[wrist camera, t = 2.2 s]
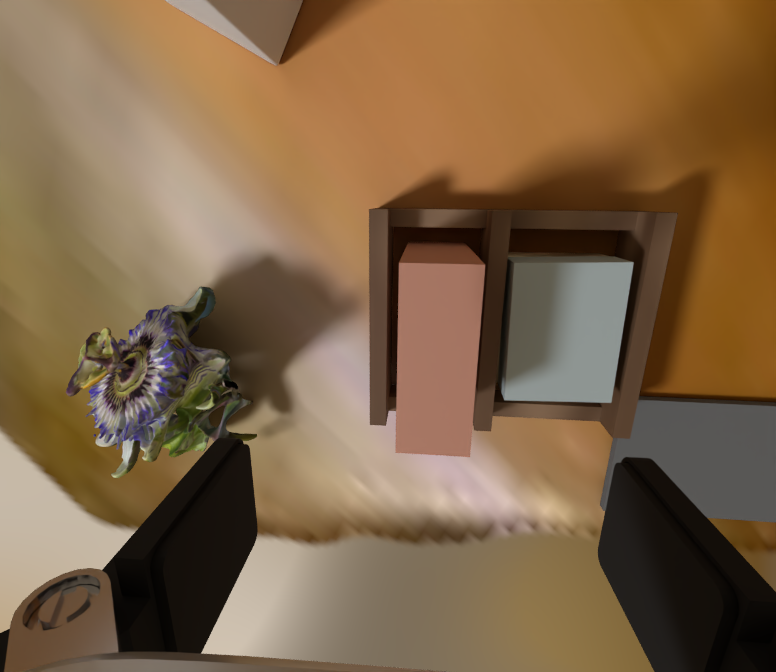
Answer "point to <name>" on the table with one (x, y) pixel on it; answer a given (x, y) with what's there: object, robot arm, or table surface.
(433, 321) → the pink rectangular block
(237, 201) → the table surface
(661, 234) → the rack
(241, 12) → the milk carton
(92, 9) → the table surface
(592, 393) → the offcut upper
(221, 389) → the passion flower
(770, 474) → the slate mat
